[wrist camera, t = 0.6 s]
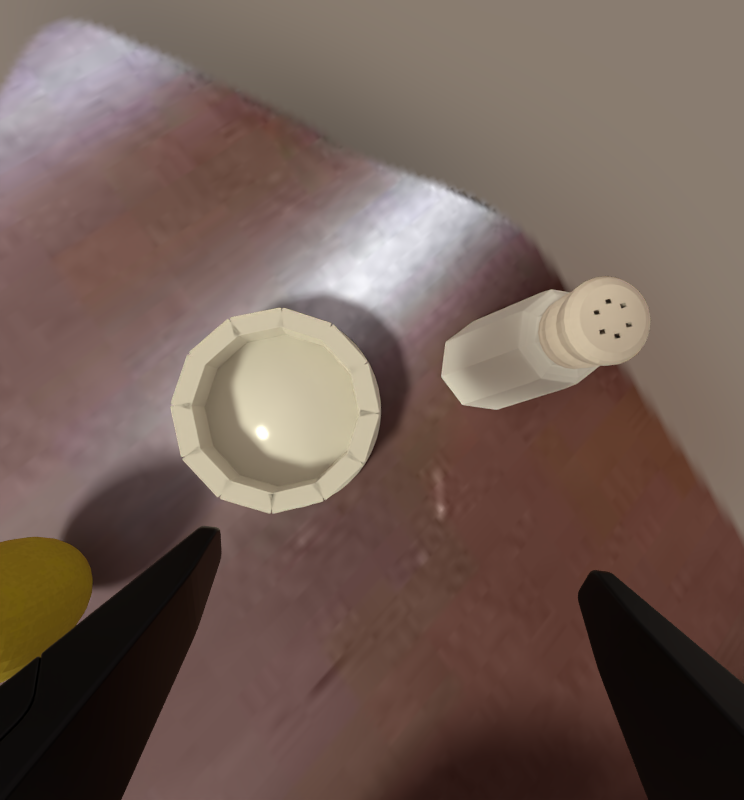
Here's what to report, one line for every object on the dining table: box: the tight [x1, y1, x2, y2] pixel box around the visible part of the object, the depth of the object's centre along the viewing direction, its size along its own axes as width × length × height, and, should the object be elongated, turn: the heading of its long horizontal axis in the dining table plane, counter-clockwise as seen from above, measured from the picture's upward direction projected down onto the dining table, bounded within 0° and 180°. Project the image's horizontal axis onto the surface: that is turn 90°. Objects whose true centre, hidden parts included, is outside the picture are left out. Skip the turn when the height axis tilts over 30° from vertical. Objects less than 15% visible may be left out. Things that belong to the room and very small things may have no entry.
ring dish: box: [170, 307, 381, 514], centre depth 20 cm, size 11×11×2 cm
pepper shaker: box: [441, 276, 651, 410], centre depth 17 cm, size 5×5×11 cm
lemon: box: [0, 537, 93, 683], centre depth 17 cm, size 6×6×8 cm
